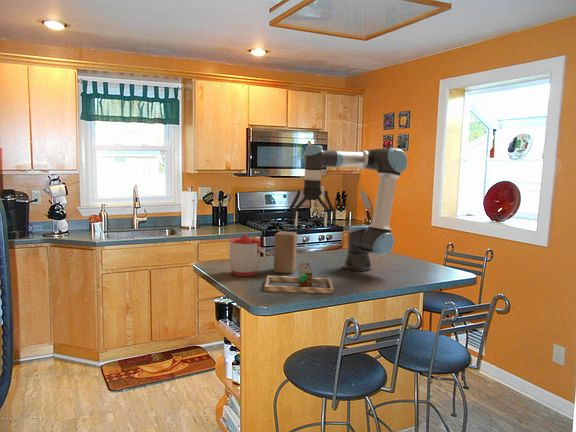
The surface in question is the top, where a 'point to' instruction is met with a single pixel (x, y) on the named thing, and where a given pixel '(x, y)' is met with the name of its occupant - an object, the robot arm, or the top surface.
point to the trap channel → (317, 287)
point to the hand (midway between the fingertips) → (310, 226)
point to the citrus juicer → (245, 255)
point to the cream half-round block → (305, 275)
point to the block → (285, 252)
